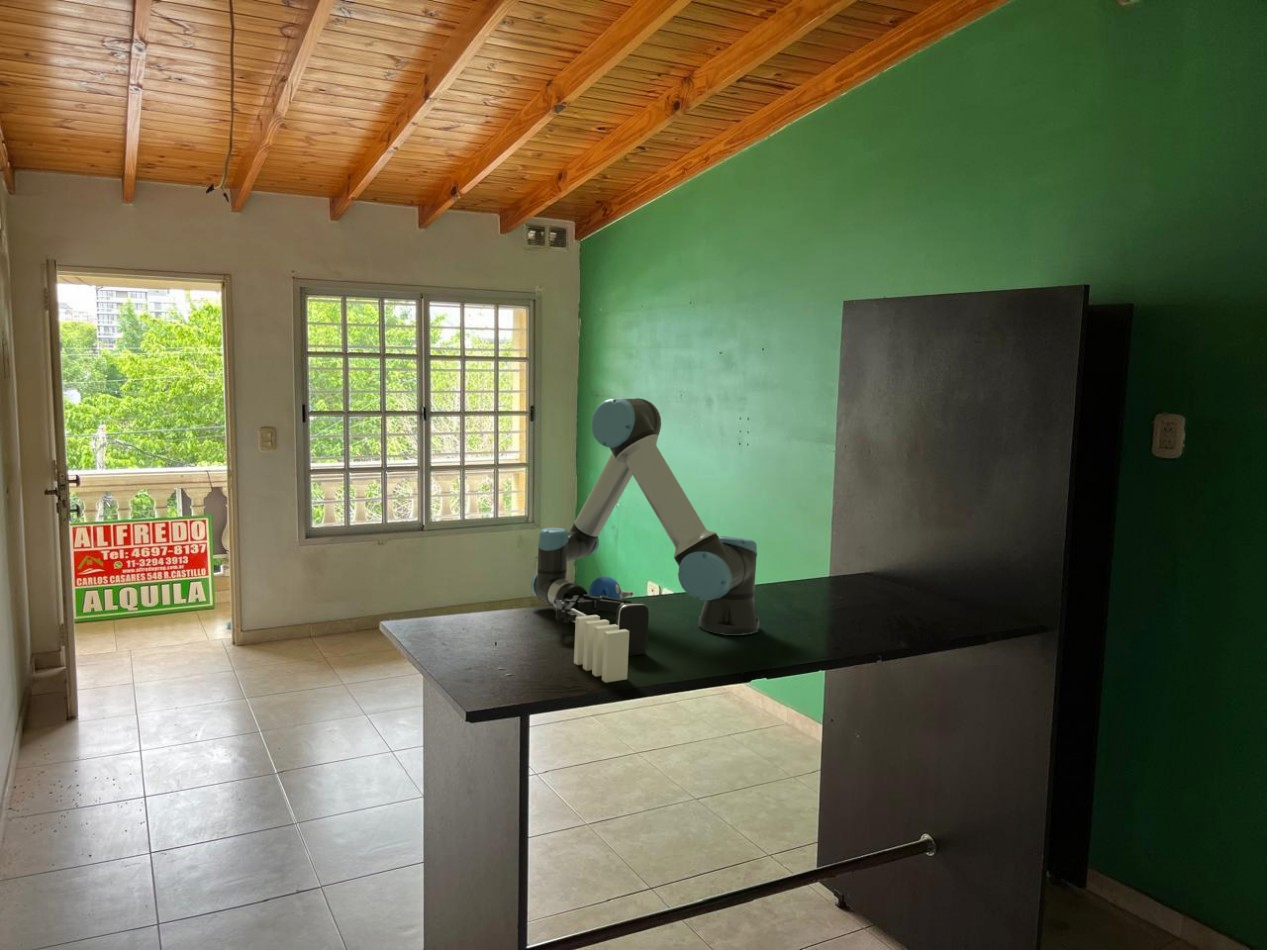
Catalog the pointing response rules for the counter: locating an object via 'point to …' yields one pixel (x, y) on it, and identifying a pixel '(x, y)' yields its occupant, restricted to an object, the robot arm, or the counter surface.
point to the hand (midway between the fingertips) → (611, 618)
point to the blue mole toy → (607, 588)
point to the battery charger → (634, 625)
